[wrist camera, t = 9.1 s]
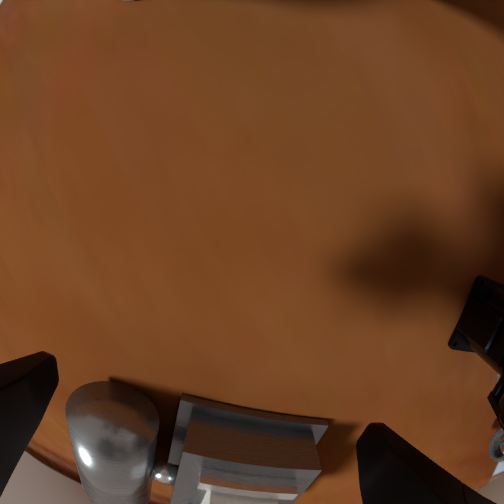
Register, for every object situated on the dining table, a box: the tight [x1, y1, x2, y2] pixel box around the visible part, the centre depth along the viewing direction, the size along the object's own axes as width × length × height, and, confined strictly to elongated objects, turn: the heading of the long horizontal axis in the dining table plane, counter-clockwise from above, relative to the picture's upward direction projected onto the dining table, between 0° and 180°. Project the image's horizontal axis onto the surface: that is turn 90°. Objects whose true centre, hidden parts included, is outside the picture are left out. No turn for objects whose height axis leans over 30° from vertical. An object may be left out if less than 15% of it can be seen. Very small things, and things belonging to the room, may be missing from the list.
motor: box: [65, 381, 329, 504], centre depth 19 cm, size 20×14×7 cm
